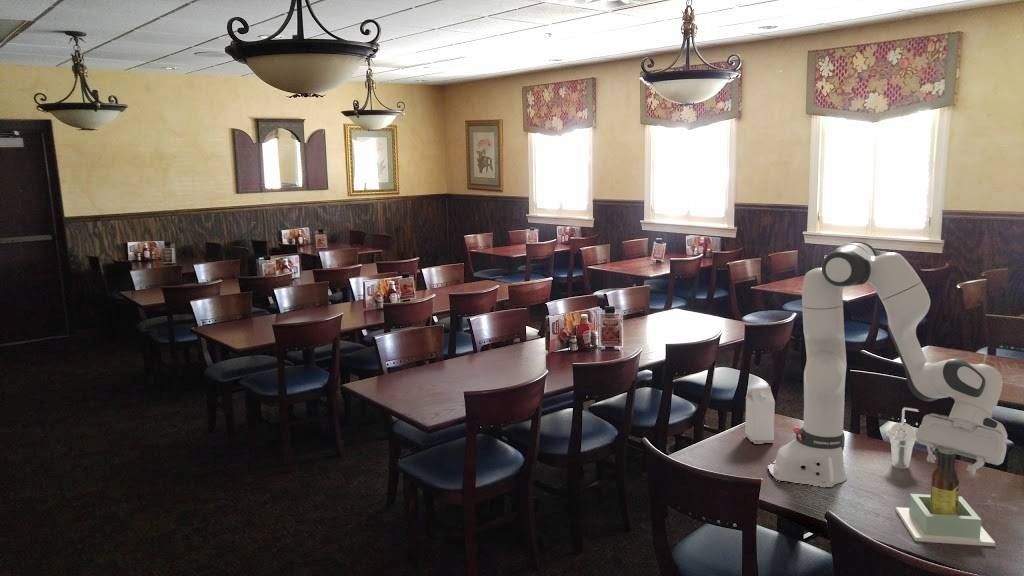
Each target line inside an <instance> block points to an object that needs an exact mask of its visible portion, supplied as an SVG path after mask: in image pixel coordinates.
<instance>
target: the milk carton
mask: <svg viewBox="0 0 1024 576" xmlns="http://www.w3.org/2000/svg"><path fill="white" fill-rule="evenodd" d="M771 388H772V387H771V386H764V387H763V386H761V387H750V389H749V390H750V391H749V392H748V393H747V395H746V396H745V429H744V431H745V433H746V434H747V435H748V436H749V437H750V438H751V439H752V440H774V439H775V409H776V408H775V407H776V406H775V405H776V401H775V399H774V395H773V393H772V389H771ZM745 433H744V434H745ZM774 441H775V440H774Z"/></svg>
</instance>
